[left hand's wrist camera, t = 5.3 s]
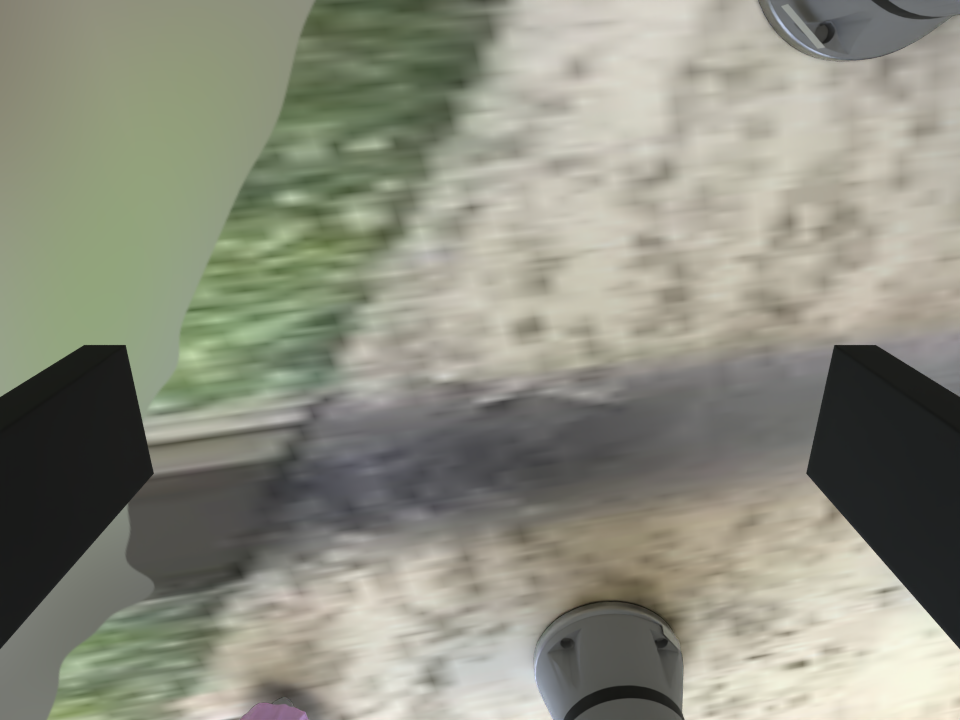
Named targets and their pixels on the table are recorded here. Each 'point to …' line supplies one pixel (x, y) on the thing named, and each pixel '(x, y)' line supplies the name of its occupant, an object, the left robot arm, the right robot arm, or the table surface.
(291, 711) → the toy character
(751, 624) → the table surface
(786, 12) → the right robot arm
